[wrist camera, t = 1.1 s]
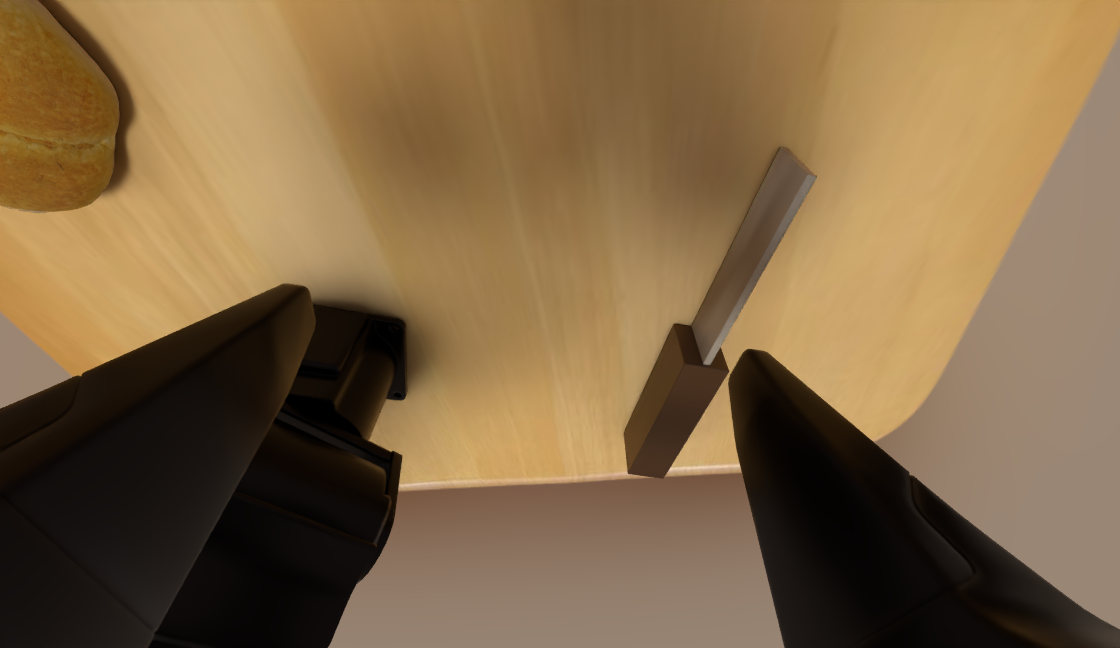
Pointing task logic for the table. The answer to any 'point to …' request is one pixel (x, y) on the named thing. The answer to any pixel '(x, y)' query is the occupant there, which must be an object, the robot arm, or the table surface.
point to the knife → (711, 327)
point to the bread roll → (51, 114)
